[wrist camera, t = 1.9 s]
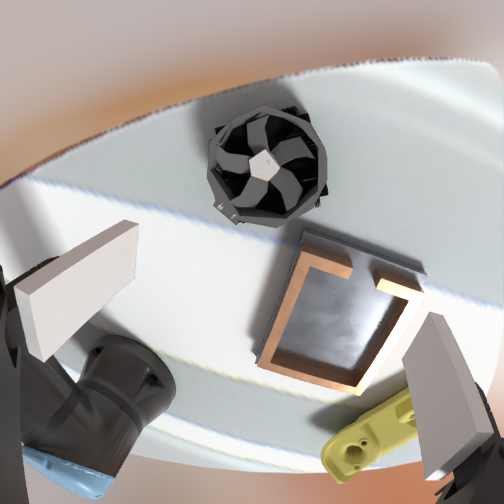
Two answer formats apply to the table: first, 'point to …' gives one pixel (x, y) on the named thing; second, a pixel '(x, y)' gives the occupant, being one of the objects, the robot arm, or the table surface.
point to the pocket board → (339, 314)
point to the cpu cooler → (267, 167)
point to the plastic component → (370, 437)
